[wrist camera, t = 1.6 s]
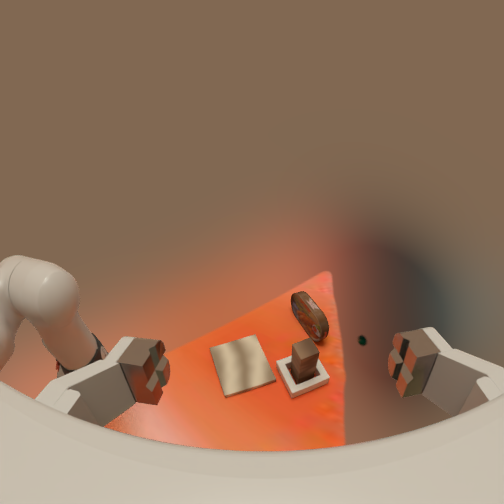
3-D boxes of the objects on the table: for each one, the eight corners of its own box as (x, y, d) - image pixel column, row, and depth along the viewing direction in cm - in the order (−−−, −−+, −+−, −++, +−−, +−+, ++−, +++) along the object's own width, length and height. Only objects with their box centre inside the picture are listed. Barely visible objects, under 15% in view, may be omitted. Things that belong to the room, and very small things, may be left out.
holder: (291, 398, 53) (292, 393, 51) (276, 367, 60) (276, 361, 58) (327, 383, 55) (329, 377, 53) (310, 354, 62) (311, 347, 60)
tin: (289, 309, 74) (290, 287, 69) (299, 305, 75) (300, 283, 70) (317, 348, 63) (321, 328, 58) (328, 343, 64) (332, 322, 59)
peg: (297, 385, 55) (300, 359, 48) (290, 372, 58) (292, 344, 51) (313, 379, 56) (319, 352, 49) (305, 366, 59) (310, 337, 52)
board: (225, 397, 54) (224, 395, 53) (210, 350, 65) (209, 347, 64) (275, 381, 57) (275, 379, 56) (255, 337, 68) (255, 334, 67)
